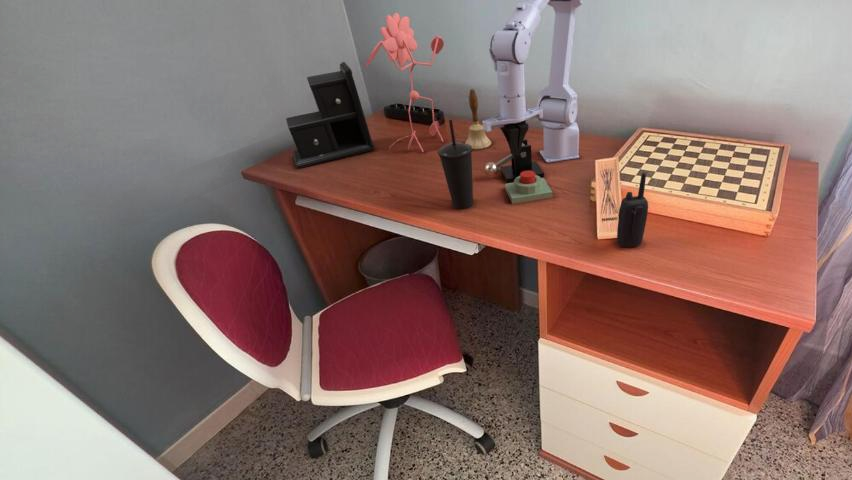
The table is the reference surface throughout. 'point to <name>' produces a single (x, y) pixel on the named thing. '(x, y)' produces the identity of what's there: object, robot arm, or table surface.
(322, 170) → the table surface
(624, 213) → the two-way radio
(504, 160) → the tap lever
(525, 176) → the button
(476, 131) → the hand bell
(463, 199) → the drinking cup
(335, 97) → the black drawer organizer
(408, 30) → the figurine
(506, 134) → the robot arm
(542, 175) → the black lever mount
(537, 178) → the button box
